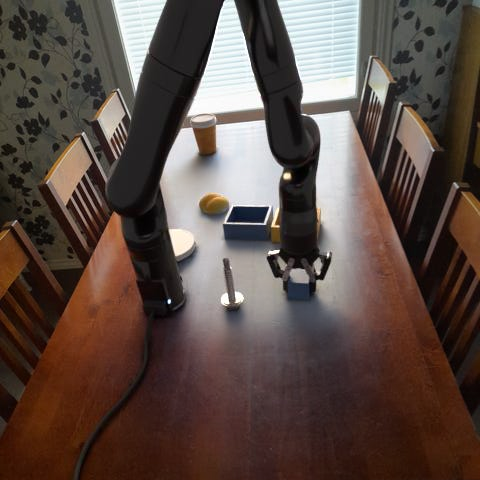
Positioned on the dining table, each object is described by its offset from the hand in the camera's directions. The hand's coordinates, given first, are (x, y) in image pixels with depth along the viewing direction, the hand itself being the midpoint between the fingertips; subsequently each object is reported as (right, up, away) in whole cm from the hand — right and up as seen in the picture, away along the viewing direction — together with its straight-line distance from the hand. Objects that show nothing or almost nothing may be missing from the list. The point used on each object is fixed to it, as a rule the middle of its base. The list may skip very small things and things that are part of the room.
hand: (299, 291), depth 101 cm
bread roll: (-21, +27, +34) cm, 48 cm away
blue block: (0, 0, 0) cm, 0 cm away
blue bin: (-11, +18, +23) cm, 31 cm away
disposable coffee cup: (-25, +56, +67) cm, 90 cm away
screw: (-15, -3, -1) cm, 15 cm away
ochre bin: (+2, +17, +19) cm, 25 cm away
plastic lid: (-32, +12, +19) cm, 39 cm away
